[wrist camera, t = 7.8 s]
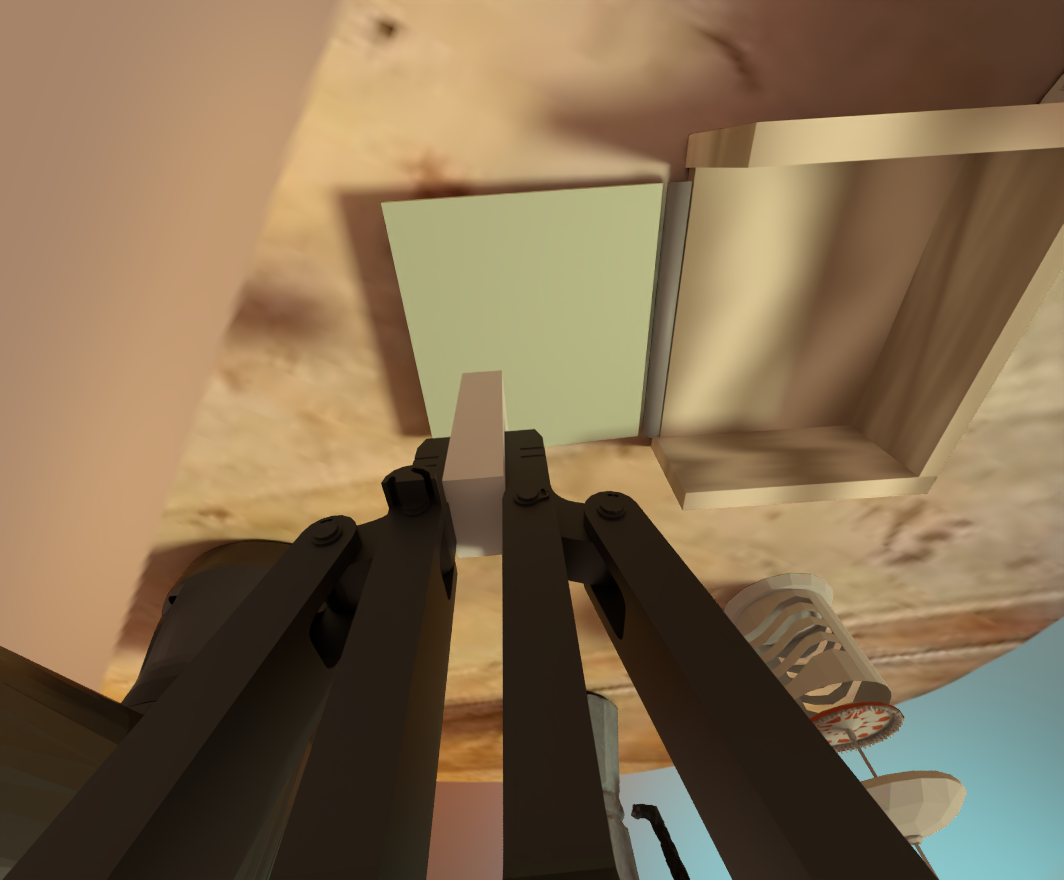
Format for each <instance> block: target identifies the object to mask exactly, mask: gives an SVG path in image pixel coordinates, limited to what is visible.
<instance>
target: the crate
mask: <svg viewBox="0 0 1064 880" xmlns="http://www.w3.org/2000/svg"><path fill="white" fill-rule="evenodd" d="M685 168H689V176H688V181H692V186H691V194H690V201H689V209H688V217H687V224H686V232H685V239H684V247H683V255H682V262H681V270H680V277H679V285H678V293H677V300H676V308H675V315H674V323H673V331H672V338H671V346H670V353H669V361H668V369H667V376H666V384H665V391H664V399H663V407H662V414H661V422H660V429H659V435H658V437H655V438H652V443H651V448H652V450H653V452H654V454H655V456H656V458H657V460H658V462H659V464H660V466H661V468H662V470H663V472H664V474H665V476H666V478H667V480H668V482H669V484H670V486H671V488H672V490H673V492H674V494H675V496H676V498H677V500H678V502H679V504H680V506H681V508H682V510H697V509H712V508H726V507H741V506H755V505H770V504H785V503H799V502H814V501H828V500H843V499H858V498H872V497H887V496H901V495H916V494H927V493H928V492H929V490H930V488H931V487H932V485H933V484H934V482H935V480H936V479H937V477H938V475H939V474H940V472H941V470H942V469H943V467H944V465H945V464H946V462H947V460H948V459H949V457H950V455H951V454H952V452H953V450H954V449H955V447H956V445H957V444H958V442H959V440H960V439H961V437H962V435H963V434H964V432H965V430H966V429H967V427H968V425H969V424H970V422H971V420H972V419H973V417H974V415H975V414H976V412H977V410H978V409H979V407H980V405H981V404H982V402H983V400H984V399H985V397H986V395H987V394H988V392H989V390H990V389H991V387H992V385H993V384H994V382H995V380H996V379H997V377H998V376H999V374H1000V372H1001V371H1002V369H1003V367H1004V366H1005V364H1006V362H1007V361H1008V359H1009V357H1010V356H1011V354H1012V352H1013V351H1014V349H1015V347H1016V346H1017V344H1018V342H1019V341H1020V339H1021V337H1022V336H1023V334H1024V332H1025V331H1026V329H1027V327H1028V326H1029V324H1030V322H1031V321H1032V319H1033V317H1034V316H1035V314H1036V312H1037V311H1038V309H1039V307H1040V306H1041V304H1042V302H1043V301H1044V299H1045V297H1046V296H1047V294H1048V292H1049V291H1050V289H1051V287H1052V286H1053V284H1054V282H1055V281H1056V279H1057V277H1058V276H1059V274H1060V273H1061V271H1062V269H1063V268H1064V102H1063V103H1047V104H1032V105H1016V106H1001V107H985V108H970V109H955V110H939V111H924V112H908V113H893V114H877V115H862V116H846V117H831V118H815V119H800V120H785V121H769V122H756V123H750V124H745V125H739V126H734V127H728V128H723V129H718V130H712V131H707V132H701V133H696V134H690V135H689V140H688V148H687V156H686V165H685Z"/></svg>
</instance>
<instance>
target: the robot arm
mask: <svg viewBox="0 0 1064 880" xmlns="http://www.w3.org/2000/svg"><path fill="white" fill-rule="evenodd" d="M381 484H382V488H383V491H384V494H385V497H386V500H387V503H388V507H389V511H388V514H387V515H386V516H384V517H382V518H379V519H377V520H374V521H371V522H368V523H365V524H361V525H358V526H357V525H356V523H355V521H354V520H353V519H352V518H351V517H347V516H343V515H339V516H330V517H327V518H323V519H321V520H319V521H317V522H315V523H313V524H311V525H310V526H309V527H308V528H307V529H305V530H304V531H303V532H302V533H301V534H300V536H299V537H298V538H297V539H296V540H295V541H294V543H293V544H292V545H289V544H283V543H275V542H240V543H234V544H228V545H224V546H221V547H217V548H215V549H212V550H210V551H208V552H206V553H204V554H202V555H201V556H199V557H198V558H197V559H195V560H194V561H193V562H192V563H191V564H190V566H189V567H188V568H187V569H186V571H185V572H184V573H183V574H182V576H181V577H180V578H179V579H178V581H177V582H176V583H175V584H174V585H173V587H172V588H171V590H170V592H169V593H168V595H167V597H166V600H165V603H164V606H163V610H162V617H161V619H160V621H159V623H158V625H157V628H156V630H155V632H154V635H153V637H152V640H151V643H150V645H149V648H148V651H147V654H146V657H145V659H144V662H143V665H142V668H141V671H140V674H139V676H138V679H137V681H136V683H135V684H134V686H133V687H132V689H131V690H130V691H129V693H128V694H127V696H126V697H125V698H124V700H123V701H122V702H121V703H119V702H117V701H115V700H112V699H110V698H108V697H106V696H104V695H102V694H100V693H98V692H96V691H93V690H92V689H89V688H87V687H85V686H83V685H81V684H79V683H77V682H75V681H73V680H70V679H68V678H66V677H64V676H62V675H60V674H58V673H56V672H54V671H52V670H49V669H48V668H45V667H43V666H41V665H39V664H37V663H35V662H33V661H31V660H29V659H26V658H24V657H22V656H20V655H18V654H16V653H14V652H12V651H10V650H8V649H6V648H4V647H1V646H0V880H426V876H427V866H428V857H429V847H430V837H431V827H432V817H433V808H434V798H435V788H436V779H437V769H438V759H439V749H440V739H441V730H442V720H443V710H444V700H445V691H446V681H447V671H448V661H449V651H450V642H451V632H452V622H453V612H454V603H455V593H456V583H457V568H456V563H455V553H456V548H457V553H458V557H459V558H466V557H478V556H489V555H500V554H502V578H503V880H620V878H619V874H618V871H617V868H616V864H615V860H614V855H613V850H612V844H611V838H610V832H609V826H608V820H607V814H606V808H605V802H604V796H603V789H602V783H601V777H600V771H599V765H598V759H597V753H596V747H595V741H594V735H593V729H592V723H591V717H590V710H589V704H588V698H587V692H586V686H585V680H584V674H583V668H582V662H581V656H580V650H579V644H578V637H577V631H576V625H575V619H574V613H573V607H572V601H571V595H570V589H569V583H568V580H569V581H574V582H579V583H583V584H584V588H585V590H586V592H587V594H588V596H589V598H590V600H591V601H592V603H593V605H594V607H595V609H596V611H597V613H598V615H599V617H600V619H601V621H602V623H603V625H604V627H605V629H606V631H607V633H608V635H609V637H610V639H611V641H612V643H613V645H614V647H615V649H616V651H617V653H618V655H619V657H620V659H621V661H622V663H623V665H624V667H625V669H626V671H627V673H628V675H629V677H630V679H631V680H632V682H633V684H634V686H635V688H636V690H637V692H638V694H639V696H640V698H641V700H642V702H643V704H644V706H645V708H646V710H647V712H648V714H649V716H650V718H651V720H652V722H653V724H654V726H655V728H656V730H657V732H658V734H659V736H660V738H661V740H662V742H663V744H664V746H665V748H666V750H667V752H668V754H669V756H670V758H671V759H672V761H673V763H674V765H675V767H676V769H677V771H678V773H679V775H680V777H681V779H682V781H683V783H684V785H685V787H686V789H687V791H688V793H689V795H690V797H691V799H692V801H693V803H694V805H695V807H696V809H697V811H698V813H699V815H700V817H701V819H702V820H703V823H704V824H705V827H706V829H707V831H708V833H709V834H710V837H711V838H712V840H713V842H714V844H715V846H716V848H717V850H718V852H719V854H720V856H721V858H722V860H723V862H724V864H725V866H726V868H727V870H728V872H729V874H730V876H731V878H732V880H939V879H938V878H937V877H936V876H935V875H934V873H933V872H932V871H931V870H930V868H929V867H928V866H927V865H926V863H925V862H924V861H923V860H922V858H921V857H920V856H919V855H918V854H917V852H916V851H915V850H914V848H913V847H912V846H911V845H910V843H909V842H908V841H907V840H906V838H905V837H904V836H903V835H902V833H901V832H900V831H899V830H898V828H897V827H896V826H895V825H894V823H893V822H892V821H891V820H890V818H889V817H888V816H887V815H886V813H885V812H884V811H883V810H882V808H881V807H880V806H879V805H878V803H877V802H876V801H875V800H874V798H873V797H872V796H871V795H870V793H869V792H868V791H867V790H866V788H865V787H864V786H863V785H862V783H861V782H860V781H859V780H858V779H857V777H856V776H855V775H854V774H853V772H852V771H851V770H850V768H849V767H848V766H847V765H846V764H845V762H844V761H843V760H842V759H841V757H840V756H839V755H838V754H837V752H836V751H835V750H834V749H833V747H832V746H831V745H830V744H829V742H828V741H827V740H826V739H825V737H824V736H823V735H822V734H821V732H820V731H819V730H818V729H817V727H816V726H815V725H814V724H813V722H812V721H811V720H810V719H809V717H808V716H807V715H806V714H805V712H804V711H803V710H802V709H801V707H800V706H799V705H798V704H797V702H796V701H795V700H794V699H793V697H792V696H791V695H790V694H789V692H788V691H787V690H786V689H785V687H784V686H783V685H782V684H781V682H780V681H779V680H778V679H777V677H776V676H775V675H774V674H773V672H772V671H771V670H770V669H769V667H768V666H767V665H766V664H765V662H764V661H763V660H762V659H761V657H760V656H759V655H758V654H757V653H756V651H755V650H754V649H753V648H752V646H751V645H750V644H749V643H748V641H747V640H746V639H745V638H744V636H743V635H742V634H741V633H740V631H739V630H738V629H737V628H736V626H735V625H734V624H733V623H732V621H731V620H730V619H729V618H728V616H727V615H726V614H725V613H724V611H723V610H722V609H721V608H720V606H719V605H718V604H717V603H716V601H715V600H714V599H713V598H712V596H711V595H710V594H709V593H708V591H707V590H706V589H705V588H704V586H703V585H702V584H701V583H700V581H699V580H698V579H697V578H696V576H695V575H694V574H693V573H692V571H691V570H690V569H689V568H688V566H687V565H686V564H685V563H684V561H683V560H682V559H681V558H680V556H679V555H678V554H677V553H676V551H675V550H674V549H673V548H672V546H671V545H670V544H669V543H668V542H667V540H666V539H665V538H664V537H663V535H662V534H661V533H660V532H659V530H658V529H657V528H656V527H655V525H654V524H653V523H652V522H651V520H650V519H649V518H648V517H647V515H646V514H645V513H644V512H643V510H642V509H641V508H640V507H639V505H638V504H637V503H636V502H635V501H634V500H633V499H632V498H630V497H629V496H627V495H625V494H622V493H620V492H613V491H605V492H599V493H596V494H594V495H592V496H590V497H589V498H588V499H587V500H586V502H585V503H578V502H573V501H568V500H566V499H563V498H561V497H560V496H558V495H557V494H556V493H555V492H554V491H553V490H552V488H551V485H550V479H549V473H548V467H547V461H546V455H545V449H544V442H543V437H542V436H541V435H540V434H539V433H538V432H537V431H536V430H535V429H528V430H516V431H508V424H507V414H506V404H505V394H504V384H503V374H502V370H498V371H485V372H472V373H462V378H461V383H460V388H459V394H458V399H457V404H456V410H455V415H454V420H453V426H452V431H451V436H450V437H443V438H430V439H426V440H425V441H424V442H423V443H422V444H421V445H420V446H419V447H418V448H417V452H416V455H415V460H414V462H413V465H410V466H405V467H402V468H399V469H397V470H394V471H393V472H391V473H390V474H389V475H387V476H386V477H385V478H384V480H383V481H382V483H381Z"/></svg>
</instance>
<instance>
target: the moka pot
mask: <svg viewBox="0 0 1064 880" xmlns="http://www.w3.org/2000/svg"><path fill="white" fill-rule="evenodd" d="M587 698H588V704H589V710H590V717H591V723H592V729H593V735H594V741H595V747H596V753H597V759H598V765H599V771H600V777H601V783H602V789H603V796H604V802H605V808H606V814H607V820H608V826H609V832H610V838H611V844H612V850H613V855H614V860H615V864H616V868H617V871H618V874H619V878H620V880H639V876H638V872H637V868H636V863H635V858H634V853H633V850H632V845H631V840H630V836H629V832H628V828H626V827H625V826H624V824H623V823H622V821H623V818H624V811H623V807H622V805H621V803H620V800H619V791H620V790H619V782H620V781H619V757H618V712H617V710H618V708H617V707H616V706H615V705H614V704H613V703H612V702H611V701H609V700H607V699H604V698H601V697H599V696H596V695H591V694H587ZM631 816H633V817H634V818H635V819H640V818H645V819H647V820H649V821H650V823H651V825H652V827H653V830H654V832H655V834H656V835H657V837H658V839H659V841H660V842H661V847H662V851H663V853H664V856H665V858H666V862H667V865H668V867H669V868H670V871H671V874H672V877H673V879H674V880H690V878H689V876H688V873H687V871H686V868H685V867H684V865H683V863H682V861H681V860H680V857H679V855H678V852H677V850H676V847H675V845H674V843H673V842H672V840H671V838H670V835H669V832H668V830H667V828H666V827H665V824H664V821H663V819H662V817H661V815H660V813H659V811H658V809H657V806H653V805H645V804H637V805H635V804H634V805H633V810H632V813H631Z"/></svg>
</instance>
